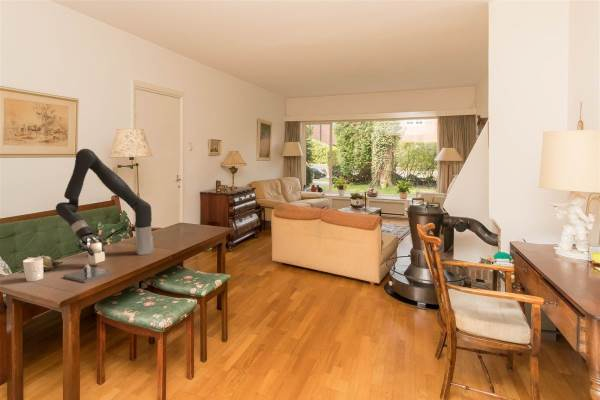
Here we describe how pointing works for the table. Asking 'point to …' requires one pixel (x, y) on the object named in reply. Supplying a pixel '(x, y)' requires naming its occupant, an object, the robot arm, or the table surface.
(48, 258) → the ceramic sculpture
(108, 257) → the table surface
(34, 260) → the white cup
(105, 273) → the grey base with post
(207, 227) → the table surface
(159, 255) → the table surface
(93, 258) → the knob
